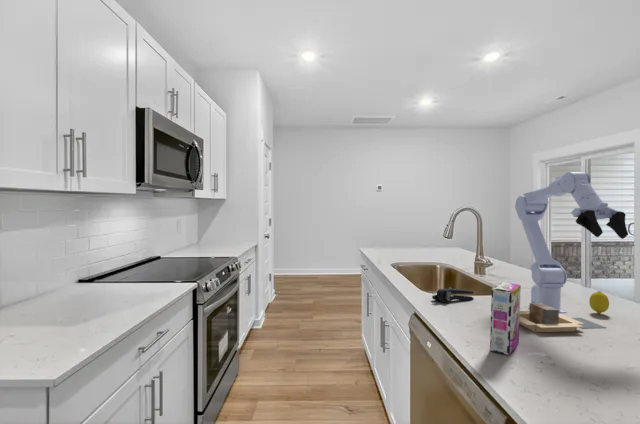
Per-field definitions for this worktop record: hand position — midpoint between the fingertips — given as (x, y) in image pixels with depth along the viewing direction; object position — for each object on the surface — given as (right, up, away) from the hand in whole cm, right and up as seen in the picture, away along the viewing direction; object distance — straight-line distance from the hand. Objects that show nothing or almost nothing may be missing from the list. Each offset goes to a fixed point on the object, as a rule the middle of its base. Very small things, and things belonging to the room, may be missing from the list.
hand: (612, 235), depth 104 cm
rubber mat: (+1, -29, +14) cm, 32 cm away
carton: (-13, -29, +11) cm, 34 cm away
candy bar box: (-34, -30, -6) cm, 45 cm away
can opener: (-30, -29, +41) cm, 58 cm away
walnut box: (-13, -29, +11) cm, 33 cm away
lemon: (+15, -29, +25) cm, 41 cm away
